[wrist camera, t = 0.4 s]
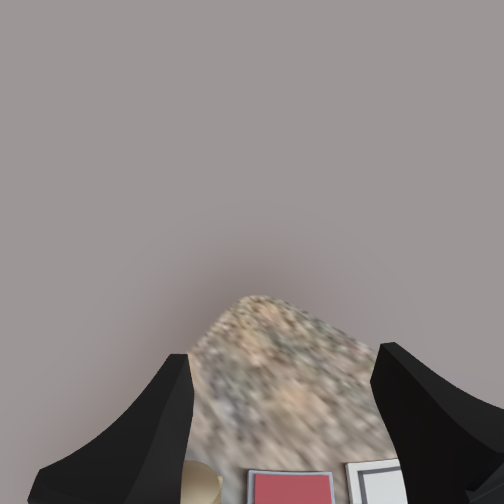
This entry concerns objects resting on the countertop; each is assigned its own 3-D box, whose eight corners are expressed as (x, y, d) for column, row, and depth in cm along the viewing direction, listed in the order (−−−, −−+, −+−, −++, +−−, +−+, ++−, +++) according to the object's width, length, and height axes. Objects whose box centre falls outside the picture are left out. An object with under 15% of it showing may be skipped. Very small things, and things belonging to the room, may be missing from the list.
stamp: (215, 531, 18) (228, 520, 14) (155, 522, 17) (148, 507, 14) (218, 483, 22) (232, 457, 18) (162, 474, 22) (160, 445, 18)
